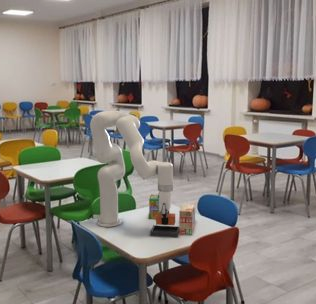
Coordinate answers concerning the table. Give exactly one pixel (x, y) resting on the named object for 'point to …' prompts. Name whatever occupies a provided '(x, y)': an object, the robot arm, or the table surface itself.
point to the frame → (164, 231)
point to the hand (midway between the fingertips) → (165, 222)
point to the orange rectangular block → (170, 219)
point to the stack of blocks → (186, 219)
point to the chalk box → (154, 206)
